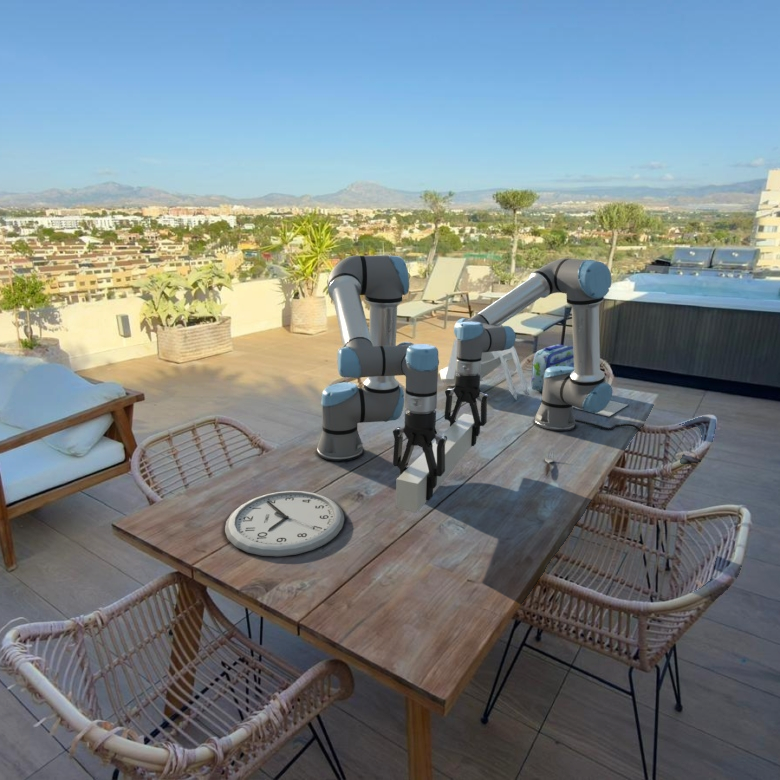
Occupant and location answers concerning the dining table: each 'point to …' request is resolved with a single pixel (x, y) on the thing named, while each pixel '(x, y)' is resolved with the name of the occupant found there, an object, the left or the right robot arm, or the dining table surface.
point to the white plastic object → (488, 367)
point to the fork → (548, 462)
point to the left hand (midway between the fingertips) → (417, 495)
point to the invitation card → (610, 408)
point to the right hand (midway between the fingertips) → (463, 442)
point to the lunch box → (550, 362)
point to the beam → (415, 476)
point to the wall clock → (284, 523)
